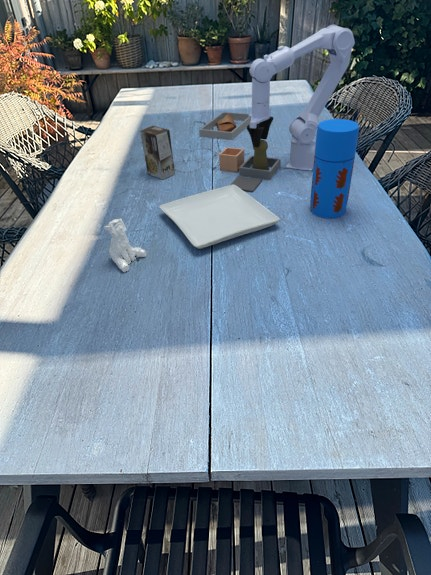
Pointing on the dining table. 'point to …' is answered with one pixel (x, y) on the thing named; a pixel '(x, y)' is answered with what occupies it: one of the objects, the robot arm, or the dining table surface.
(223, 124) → the sunglasses case
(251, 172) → the grey rectangular frame
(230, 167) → the terracotta pot
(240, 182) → the dark grey rubber mat
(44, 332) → the dining table surface
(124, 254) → the sitting furry creature
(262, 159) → the cork
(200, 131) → the dark grey tray
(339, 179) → the thermos
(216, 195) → the square plate
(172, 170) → the coffee box
